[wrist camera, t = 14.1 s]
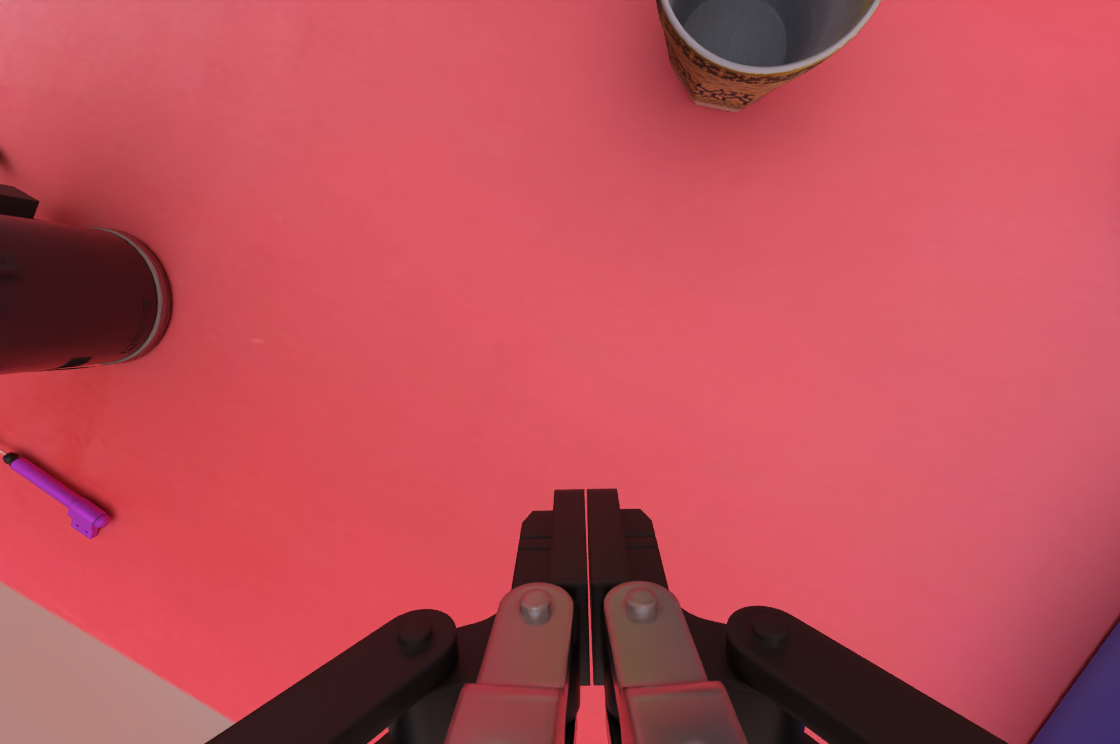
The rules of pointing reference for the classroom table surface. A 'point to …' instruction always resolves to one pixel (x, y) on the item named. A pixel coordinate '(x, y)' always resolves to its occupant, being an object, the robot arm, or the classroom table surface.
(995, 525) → the classroom table surface
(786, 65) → the ceramic cup
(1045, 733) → the blue plastic tub
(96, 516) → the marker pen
